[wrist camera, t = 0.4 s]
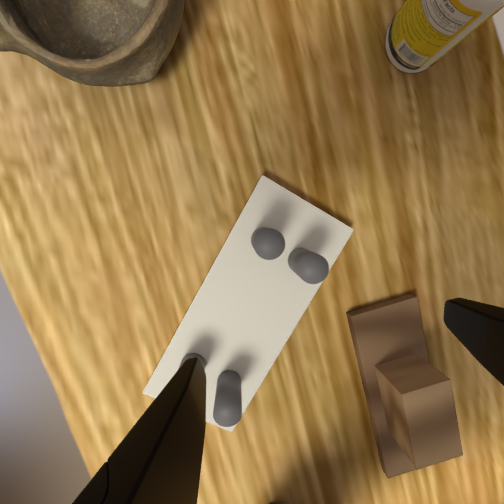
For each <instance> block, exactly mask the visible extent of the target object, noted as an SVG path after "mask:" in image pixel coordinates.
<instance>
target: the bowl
mask: <svg viewBox="0 0 504 504" xmlns="http://www.w3.org/2000/svg"><path fill="white" fill-rule="evenodd" d="M184 1H185V0H0V51H13V52H17V53H21V54H25V55H28V56H30V57H32V58H34V59H36V60H38V61H39V62H41V63H42V64H44V65H45V66H47V67H48V68H50V69H52V70H53V71H55V72H57V73H58V74H60V75H62V76H64V77H66V78H68V79H70V80H73V81H76V82H78V83H81V84H86V85H92V86H112V87H114V86H127V85H136V84H144V83H147V82H150V81H151V80H152V79H153V78H154V77H155V76H156V74H157V73H158V71H159V69H160V67H161V66H162V64H163V62H164V61H165V59H166V58H167V56H168V55H169V53H170V51H171V49H172V47H173V45H174V43H175V41H176V38H177V36H178V33H179V31H180V28H181V26H182V19H183V12H184Z"/></svg>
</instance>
